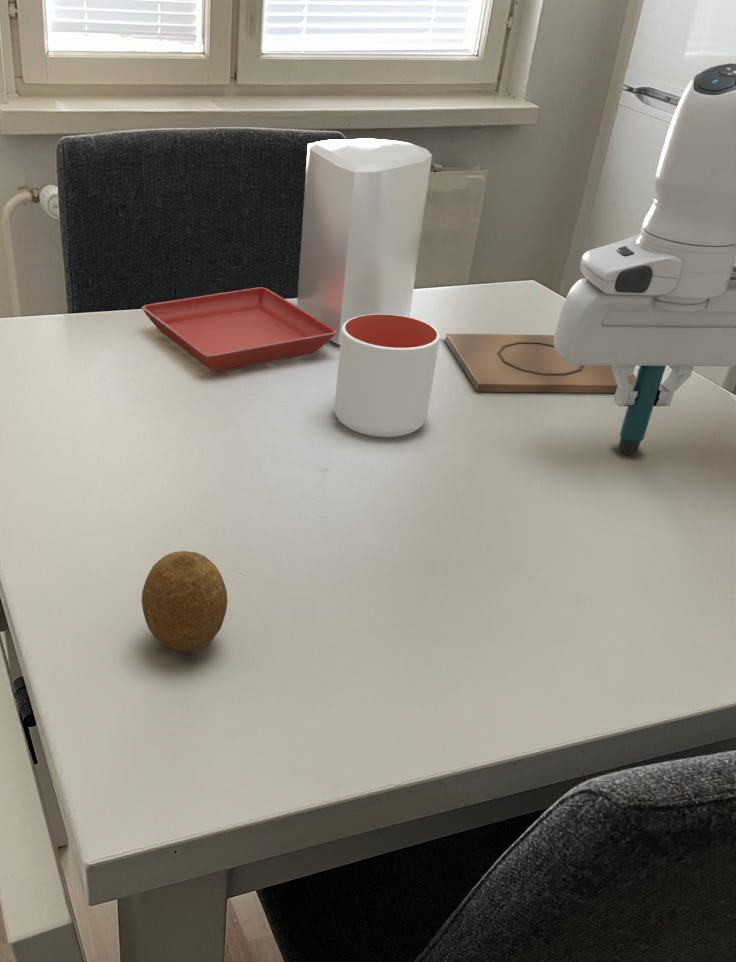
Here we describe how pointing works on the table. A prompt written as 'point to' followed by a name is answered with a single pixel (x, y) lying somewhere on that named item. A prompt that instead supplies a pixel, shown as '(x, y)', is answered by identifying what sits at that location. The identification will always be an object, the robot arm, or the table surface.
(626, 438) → the marker
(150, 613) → the fruit
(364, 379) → the cup
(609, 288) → the robot arm
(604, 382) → the pad
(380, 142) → the silvery white canister
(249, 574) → the table surface
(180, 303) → the plant saucer
